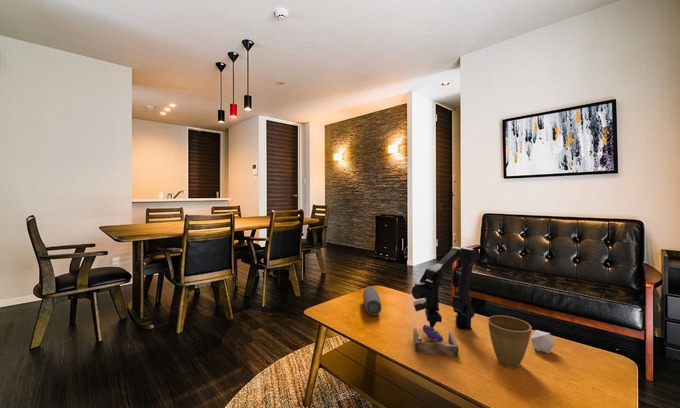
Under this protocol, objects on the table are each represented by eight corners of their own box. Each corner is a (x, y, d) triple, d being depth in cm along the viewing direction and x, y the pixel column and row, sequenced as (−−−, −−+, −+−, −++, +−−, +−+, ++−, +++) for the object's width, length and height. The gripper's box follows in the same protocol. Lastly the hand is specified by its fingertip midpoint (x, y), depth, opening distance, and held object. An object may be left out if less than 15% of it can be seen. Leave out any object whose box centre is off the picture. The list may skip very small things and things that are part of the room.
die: (555, 351, 126) (542, 328, 131) (562, 350, 119) (548, 326, 124) (536, 356, 127) (523, 333, 132) (542, 356, 120) (528, 331, 125)
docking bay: (451, 340, 133) (452, 331, 132) (458, 356, 119) (458, 347, 119) (413, 336, 136) (413, 328, 136) (415, 352, 123) (415, 342, 122)
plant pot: (529, 359, 118) (531, 320, 118) (530, 378, 106) (531, 335, 105) (488, 348, 126) (489, 312, 126) (484, 365, 114) (485, 324, 113)
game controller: (451, 332, 131) (440, 336, 123) (443, 350, 132) (431, 354, 124) (430, 318, 139) (419, 320, 131) (423, 334, 140) (411, 337, 132)
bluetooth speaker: (382, 317, 156) (382, 299, 156) (365, 317, 156) (365, 298, 156) (377, 302, 179) (377, 285, 179) (362, 301, 179) (362, 285, 179)
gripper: (413, 288, 148) (412, 318, 148) (415, 301, 129) (415, 336, 130) (436, 289, 145) (435, 320, 146) (442, 303, 127) (441, 339, 128)
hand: (431, 328), depth 138 cm, fingers closed
